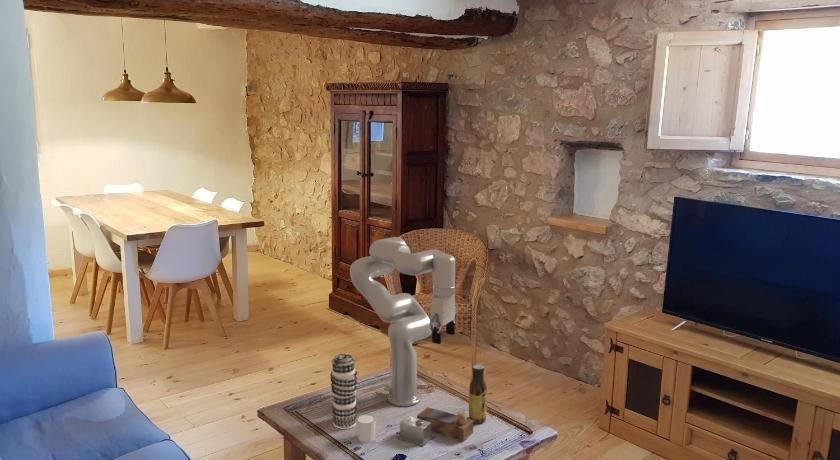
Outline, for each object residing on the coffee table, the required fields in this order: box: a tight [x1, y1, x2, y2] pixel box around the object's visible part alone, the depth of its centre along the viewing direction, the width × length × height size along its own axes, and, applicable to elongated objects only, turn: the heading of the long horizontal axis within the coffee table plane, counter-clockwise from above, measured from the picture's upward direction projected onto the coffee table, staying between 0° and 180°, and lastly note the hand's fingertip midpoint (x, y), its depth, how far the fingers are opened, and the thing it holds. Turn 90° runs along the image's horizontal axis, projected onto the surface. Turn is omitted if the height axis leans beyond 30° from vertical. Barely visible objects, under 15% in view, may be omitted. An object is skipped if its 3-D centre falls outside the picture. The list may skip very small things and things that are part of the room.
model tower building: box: [329, 353, 358, 430], centre depth 218 cm, size 9×9×25 cm
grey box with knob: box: [399, 415, 432, 443], centre depth 210 cm, size 9×5×6 cm, turn 59°
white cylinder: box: [355, 413, 377, 443], centre depth 210 cm, size 7×7×7 cm
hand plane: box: [416, 406, 474, 442], centre depth 215 cm, size 18×7×8 cm, turn 59°
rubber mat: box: [396, 434, 435, 448], centre depth 211 cm, size 10×7×1 cm
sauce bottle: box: [468, 364, 488, 424], centre depth 221 cm, size 7×6×20 cm
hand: (443, 338), depth 217 cm, fingers open, 9 cm apart
